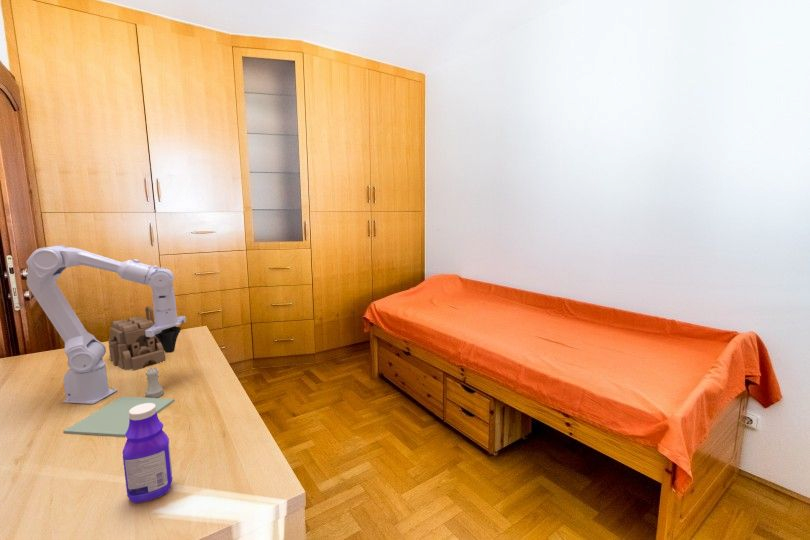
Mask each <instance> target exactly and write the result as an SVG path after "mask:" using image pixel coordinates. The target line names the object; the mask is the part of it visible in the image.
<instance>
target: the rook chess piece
mask: <svg viewBox="0 0 810 540" xmlns="http://www.w3.org/2000/svg"><path fill="white" fill-rule="evenodd" d="M159 373H160V370H159V369H158V368H157V367H151V368H149V369H147V370H146V372H145V375H146V376H147V378H146V380H147V387H146V391H145V398H160V397H161V396H163V394H164V393H165V391H164V388H163V387H162V385H161V384H160V381H159V375H158V374H159Z"/></svg>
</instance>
